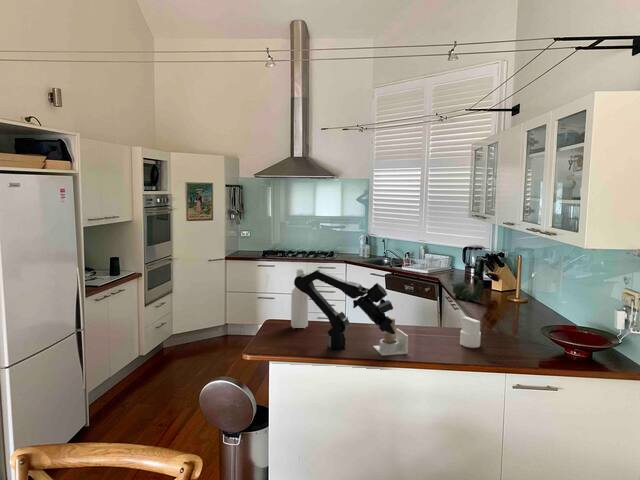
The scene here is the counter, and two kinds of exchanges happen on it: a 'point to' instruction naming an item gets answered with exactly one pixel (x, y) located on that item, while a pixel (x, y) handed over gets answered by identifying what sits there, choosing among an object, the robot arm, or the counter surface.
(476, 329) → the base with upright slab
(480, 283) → the toy figurine
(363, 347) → the counter surface
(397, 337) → the cup bracket
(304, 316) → the alcohol
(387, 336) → the maple rail post
